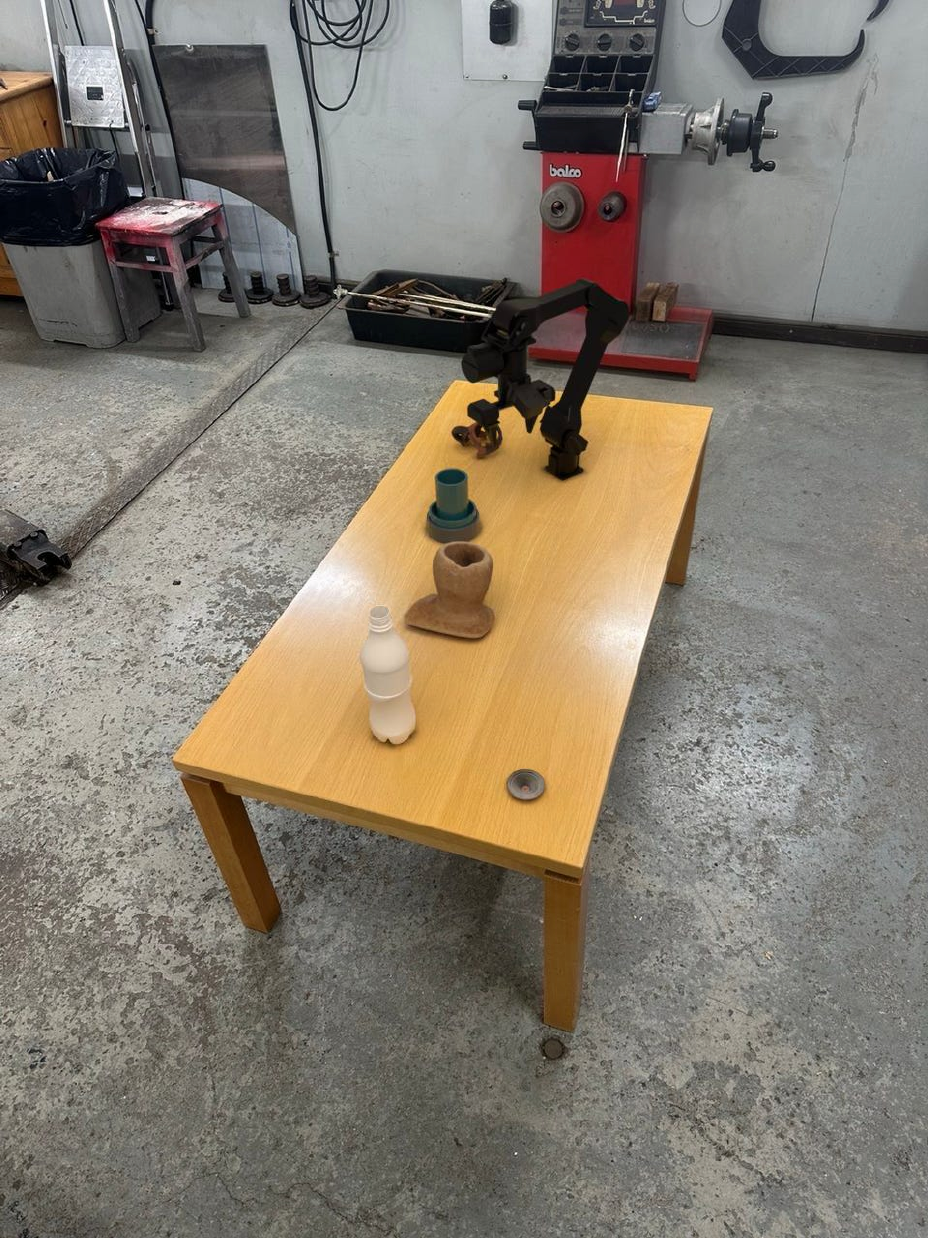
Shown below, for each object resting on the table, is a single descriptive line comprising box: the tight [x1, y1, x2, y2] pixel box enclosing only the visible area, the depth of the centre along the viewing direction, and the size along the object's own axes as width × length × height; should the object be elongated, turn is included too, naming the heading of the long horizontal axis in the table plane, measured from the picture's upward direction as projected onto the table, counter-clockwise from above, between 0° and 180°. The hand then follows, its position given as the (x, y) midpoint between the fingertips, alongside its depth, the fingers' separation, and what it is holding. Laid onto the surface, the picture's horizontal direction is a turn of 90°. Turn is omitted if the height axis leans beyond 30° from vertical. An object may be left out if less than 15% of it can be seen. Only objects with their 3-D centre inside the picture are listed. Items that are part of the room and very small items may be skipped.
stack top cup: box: [428, 498, 477, 529], centre depth 175 cm, size 10×10×5 cm
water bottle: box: [359, 604, 417, 745], centre depth 126 cm, size 7×7×25 cm
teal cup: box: [434, 467, 469, 521], centre depth 172 cm, size 6×6×10 cm
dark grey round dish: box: [506, 768, 546, 801], centre depth 125 cm, size 6×6×1 cm
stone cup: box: [403, 541, 496, 639], centre depth 150 cm, size 15×12×15 cm
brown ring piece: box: [450, 421, 504, 459], centre depth 199 cm, size 12×10×8 cm
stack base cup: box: [426, 507, 481, 544], centre depth 175 cm, size 11×11×3 cm
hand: (511, 439), depth 178 cm, fingers open, 9 cm apart
